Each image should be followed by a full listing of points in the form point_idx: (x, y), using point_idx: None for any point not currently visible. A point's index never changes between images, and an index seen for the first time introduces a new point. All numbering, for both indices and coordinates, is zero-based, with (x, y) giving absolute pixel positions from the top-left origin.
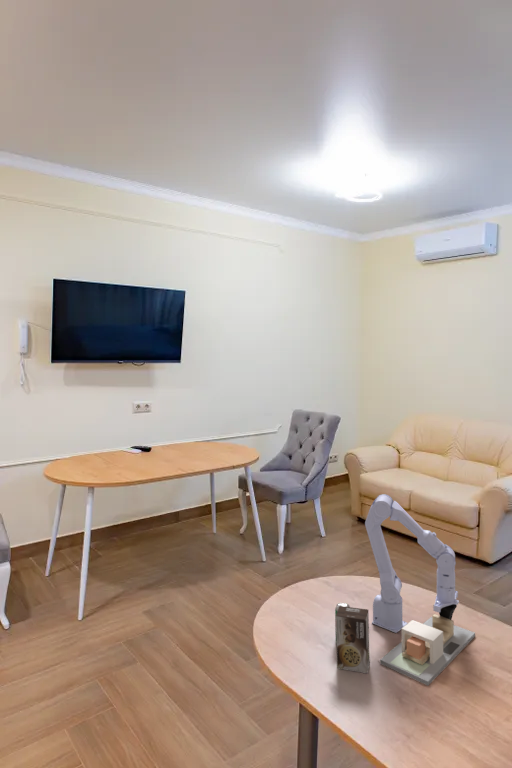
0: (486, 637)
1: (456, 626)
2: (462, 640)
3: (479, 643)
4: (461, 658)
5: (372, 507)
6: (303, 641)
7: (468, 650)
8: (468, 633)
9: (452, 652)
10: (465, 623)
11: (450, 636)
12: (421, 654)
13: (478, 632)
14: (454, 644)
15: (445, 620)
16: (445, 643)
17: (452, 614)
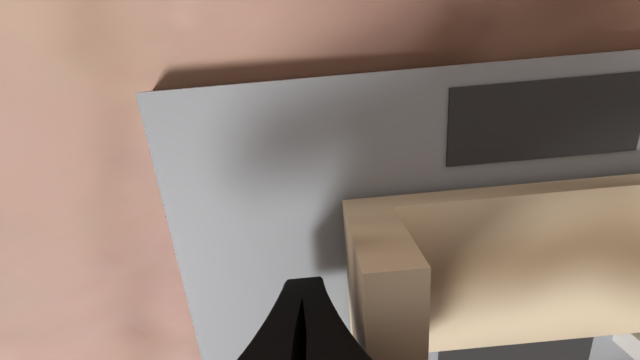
0: (77, 6)
1: (183, 251)
2: (355, 110)
3: (227, 6)
4: (563, 8)
5: None
6: None
7: (407, 24)
8: (203, 129)
9: (609, 75)
10: (41, 238)
11: (413, 198)
12: None
13: (67, 101)
14: (472, 125)
15: (426, 336)
16: (499, 184)
17: (253, 354)
